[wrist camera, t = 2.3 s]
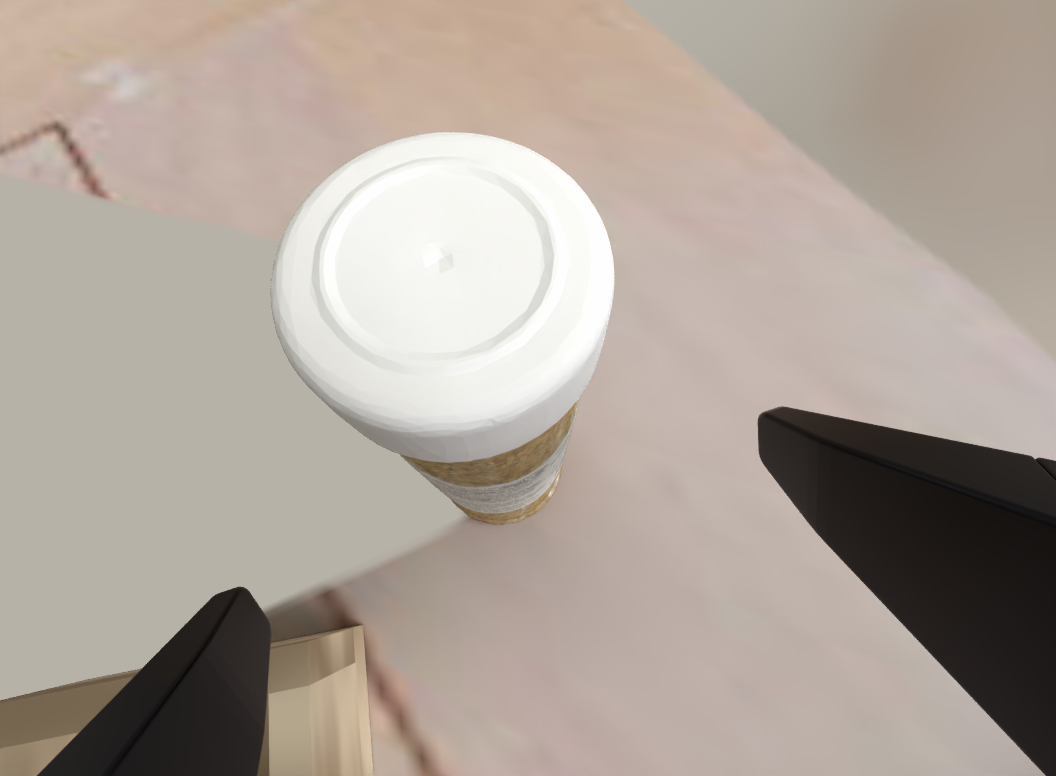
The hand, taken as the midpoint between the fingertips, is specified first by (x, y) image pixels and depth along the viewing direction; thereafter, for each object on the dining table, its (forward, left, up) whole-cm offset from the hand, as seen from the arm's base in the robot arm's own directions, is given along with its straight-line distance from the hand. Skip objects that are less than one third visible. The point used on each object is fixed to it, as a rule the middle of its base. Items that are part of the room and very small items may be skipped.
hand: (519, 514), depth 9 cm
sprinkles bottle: (+3, 0, -10) cm, 11 cm away
